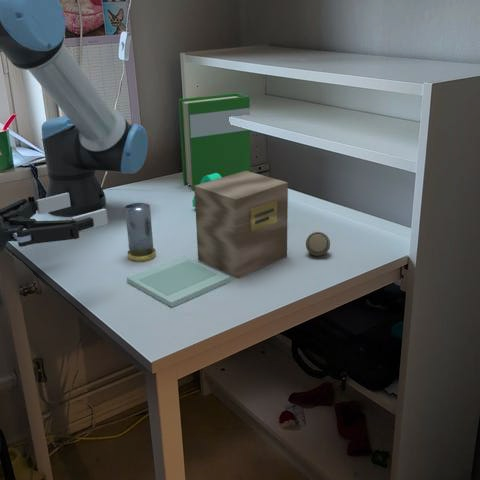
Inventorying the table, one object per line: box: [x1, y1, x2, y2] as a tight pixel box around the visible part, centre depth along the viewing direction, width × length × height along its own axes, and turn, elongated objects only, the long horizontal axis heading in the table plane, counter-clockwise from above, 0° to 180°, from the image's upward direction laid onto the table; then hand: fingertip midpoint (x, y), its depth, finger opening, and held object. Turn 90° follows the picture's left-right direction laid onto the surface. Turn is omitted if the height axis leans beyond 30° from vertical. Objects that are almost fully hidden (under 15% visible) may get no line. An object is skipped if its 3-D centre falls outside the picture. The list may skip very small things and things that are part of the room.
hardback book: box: [178, 92, 252, 192], centre depth 167 cm, size 18×7×24 cm, turn 117°
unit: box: [193, 171, 289, 279], centre depth 122 cm, size 13×14×16 cm
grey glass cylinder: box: [124, 202, 157, 263], centre depth 125 cm, size 6×6×11 cm
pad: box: [126, 255, 231, 308], centre depth 115 cm, size 14×14×1 cm
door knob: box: [305, 231, 331, 257], centre depth 125 cm, size 5×5×5 cm
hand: (87, 207), depth 114 cm, fingers open, 13 cm apart
